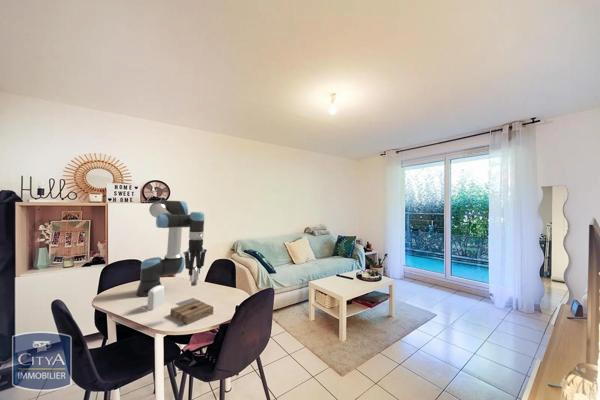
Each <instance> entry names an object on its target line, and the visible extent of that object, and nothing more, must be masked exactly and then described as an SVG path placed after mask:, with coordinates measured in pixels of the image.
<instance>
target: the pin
mask: <svg viewBox="0 0 600 400" xmlns="http://www.w3.org/2000/svg"><path fill="white" fill-rule="evenodd" d="M197 268H198V267H196V266H193V270H194V281H193V282H192V281H190V286H191V287H195V286H197V285H198V280H197Z"/></svg>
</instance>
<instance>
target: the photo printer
mask: <svg viewBox="0 0 600 400" xmlns="http://www.w3.org/2000/svg"><path fill="white" fill-rule="evenodd" d="M164 303H165V286H164V285H162V284H161V285H159V286H156V287H154V288H152V289H151V290H150V291H149V292H148V296H147V307H146V309H147V311H153V310H155V309H158V308H159V307H161V306H162V305H164Z"/></svg>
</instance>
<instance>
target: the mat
mask: <svg viewBox="0 0 600 400" xmlns="http://www.w3.org/2000/svg"><path fill="white" fill-rule="evenodd" d="M195 300H198V301H200V302H203V303H205V302H204V301H201V300H199V299H197V298H194V297H191V298H188V299H185V300H182V301H179V302H177V303H175V305H177V306H181V305H184V304H187V303H189V302H192V301H195Z"/></svg>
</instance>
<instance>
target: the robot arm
mask: <svg viewBox="0 0 600 400" xmlns="http://www.w3.org/2000/svg"><path fill="white" fill-rule="evenodd" d="M188 207H189V206H188V204H187V202H185V201H183V200H182V201H181V200H167V199H166V200H162V199H161V200H158V201H154V202H153V203H152V204H151V205H150V207H149V214H150V215H151V216H152V217H154V218H155V226H156V228H159V229H160V228H161V229H166V228H167V229H168V233H167V236H168V237H167V248H166V254H165V255H164V258H161V257H158V256H157V257H155V256H154V257H150V258H147V259H144V260H143V261H142V262H141V264H140V278H139V279H140V281H139V285H138V287H137V289H136V296H138V297H148V292H149V291H150V290H151V289H152V288H154V287H156V286H159V285H161V286H162V283H161V280H160V279H161V277H164V276H171V275H178V274H181V273H182V272H184V269H186V270H188V276H189V282H191V281H192V282H193V281H194V270H193V267H194V264H196V265H195V267H198V268H197V281H199V279H200V274H201V269H203V268H202V267H204V264H205V259H206V253H207V249H205V248H203V246H204V231H205V230H204V229H205V227H204V226H205V213H204V211H203V212H202V211H192V212H190V214H189V208H188ZM183 228H189V230H188V231H189V232H188V249H187V250H186V251H183V254H181V248H182V246H181V245H182V235H183V233H182V232H183V231H182V230H183ZM183 255H184V257H183Z"/></svg>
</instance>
